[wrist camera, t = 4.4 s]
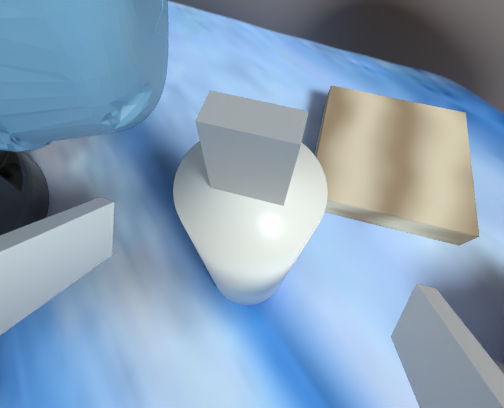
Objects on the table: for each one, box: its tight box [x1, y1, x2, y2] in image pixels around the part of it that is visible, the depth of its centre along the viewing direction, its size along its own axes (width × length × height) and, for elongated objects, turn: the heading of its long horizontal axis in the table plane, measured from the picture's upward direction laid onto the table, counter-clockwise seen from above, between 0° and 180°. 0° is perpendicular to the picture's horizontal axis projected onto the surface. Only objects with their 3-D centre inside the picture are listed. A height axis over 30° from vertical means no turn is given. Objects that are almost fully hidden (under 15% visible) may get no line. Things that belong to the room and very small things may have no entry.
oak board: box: [315, 86, 479, 245], centre depth 23 cm, size 12×12×2 cm
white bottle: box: [173, 91, 328, 306], centre depth 13 cm, size 5×5×15 cm
